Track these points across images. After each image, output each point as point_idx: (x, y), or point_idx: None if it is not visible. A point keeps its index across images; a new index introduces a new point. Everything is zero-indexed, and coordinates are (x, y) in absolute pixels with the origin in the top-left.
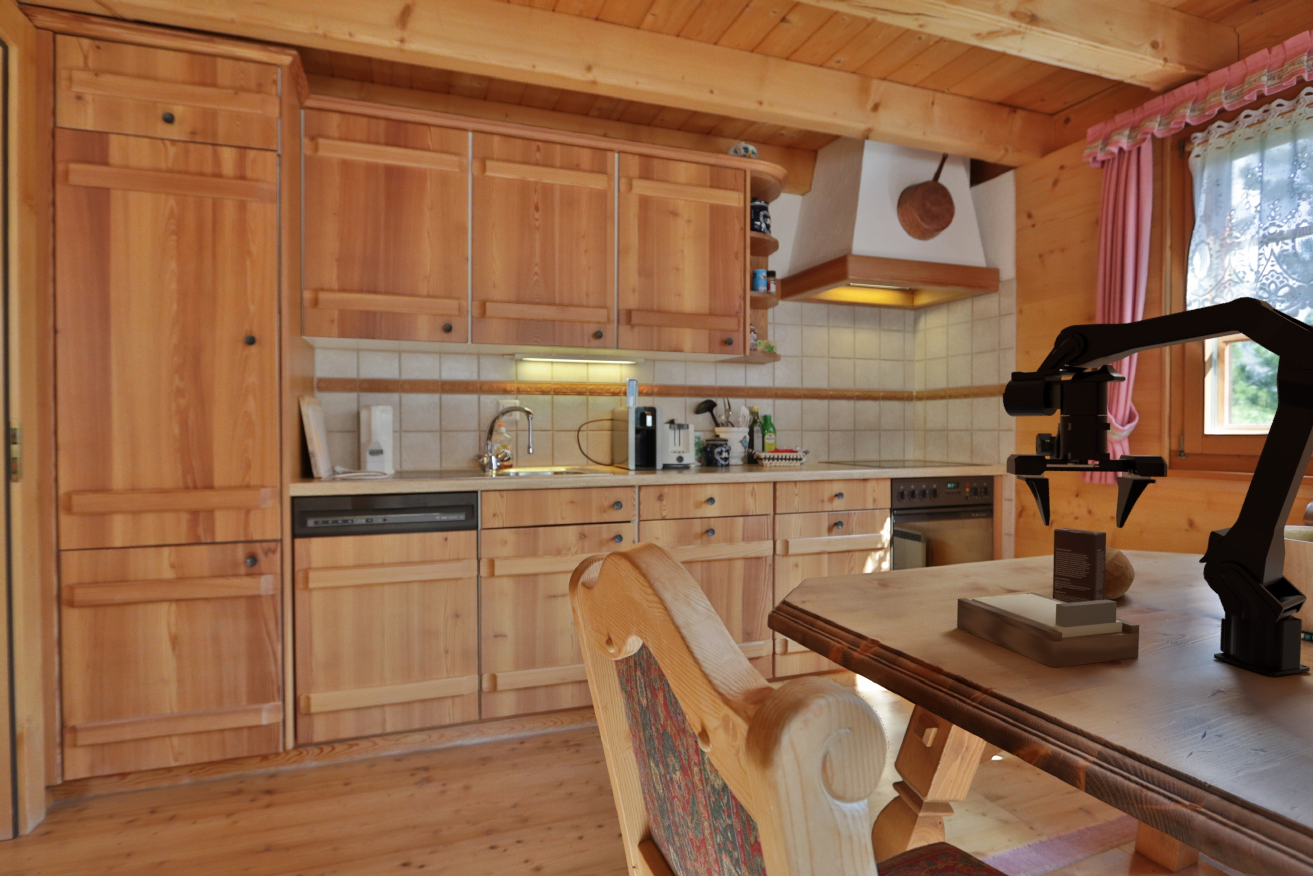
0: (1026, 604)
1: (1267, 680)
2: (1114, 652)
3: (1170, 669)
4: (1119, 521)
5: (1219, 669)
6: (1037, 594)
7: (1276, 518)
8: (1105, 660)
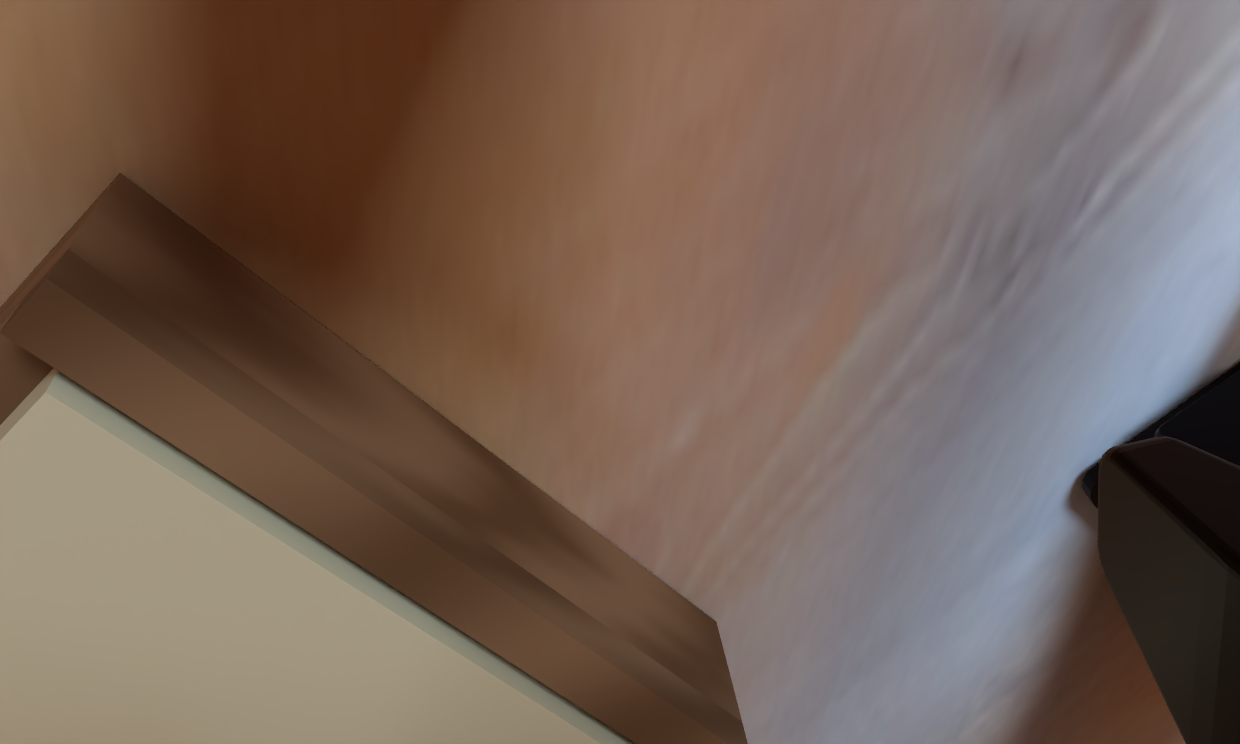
0: (105, 716)
1: None
2: None
3: (816, 697)
4: (1165, 655)
5: (1032, 602)
6: (96, 335)
7: None
8: None
